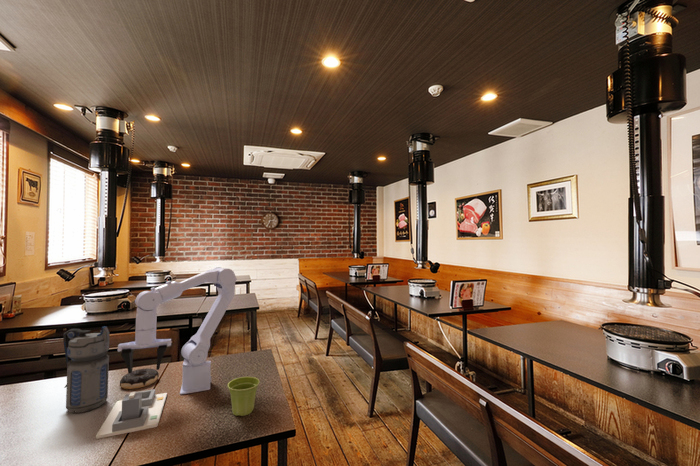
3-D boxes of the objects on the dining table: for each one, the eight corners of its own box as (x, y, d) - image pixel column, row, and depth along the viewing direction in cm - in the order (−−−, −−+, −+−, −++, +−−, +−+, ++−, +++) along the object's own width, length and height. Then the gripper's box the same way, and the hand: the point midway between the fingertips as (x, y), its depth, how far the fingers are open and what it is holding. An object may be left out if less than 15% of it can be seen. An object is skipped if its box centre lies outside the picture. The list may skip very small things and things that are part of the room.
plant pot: (250, 400, 103) (250, 373, 103) (264, 411, 96) (265, 383, 96) (221, 410, 96) (222, 382, 96) (235, 423, 89) (235, 393, 90)
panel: (167, 395, 106) (167, 386, 106) (157, 426, 88) (157, 416, 88) (117, 403, 100) (117, 394, 100) (95, 439, 82) (96, 428, 82)
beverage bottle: (76, 398, 103) (78, 323, 104) (117, 397, 104) (119, 322, 105) (47, 415, 93) (51, 331, 94) (93, 414, 94) (96, 331, 95)
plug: (141, 416, 91) (142, 389, 92) (138, 423, 88) (139, 395, 88) (125, 419, 90) (125, 391, 90) (121, 426, 86) (122, 398, 86)
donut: (125, 380, 118) (125, 369, 118) (161, 374, 123) (161, 364, 123) (116, 393, 108) (116, 381, 108) (155, 386, 112) (156, 375, 113)
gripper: (115, 333, 95) (113, 378, 94) (170, 329, 101) (168, 371, 100) (121, 328, 101) (120, 370, 101) (172, 324, 107) (171, 364, 107)
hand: (144, 370), depth 101 cm, fingers open, 7 cm apart
